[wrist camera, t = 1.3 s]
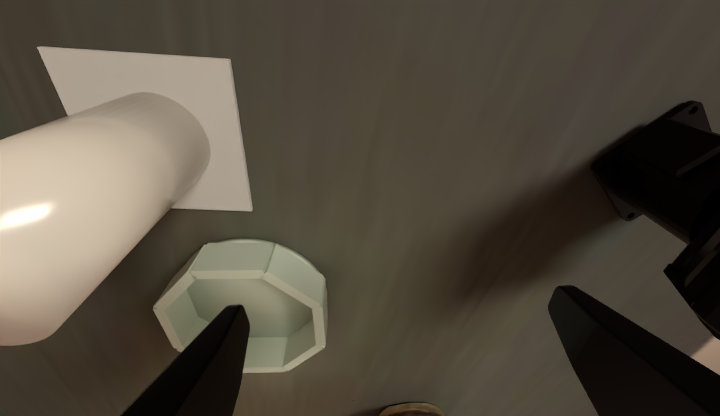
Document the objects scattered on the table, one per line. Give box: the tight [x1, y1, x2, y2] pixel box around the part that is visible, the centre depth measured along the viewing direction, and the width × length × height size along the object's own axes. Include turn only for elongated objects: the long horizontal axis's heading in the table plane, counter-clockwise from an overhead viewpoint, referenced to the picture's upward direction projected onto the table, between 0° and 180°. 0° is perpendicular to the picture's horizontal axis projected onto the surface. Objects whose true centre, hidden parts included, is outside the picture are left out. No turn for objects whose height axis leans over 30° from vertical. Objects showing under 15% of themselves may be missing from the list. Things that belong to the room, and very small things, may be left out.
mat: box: [37, 47, 253, 211], centre depth 19 cm, size 10×10×1 cm
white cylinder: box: [0, 92, 211, 346], centre depth 14 cm, size 6×6×12 cm
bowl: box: [153, 238, 328, 373], centre depth 26 cm, size 13×13×4 cm
